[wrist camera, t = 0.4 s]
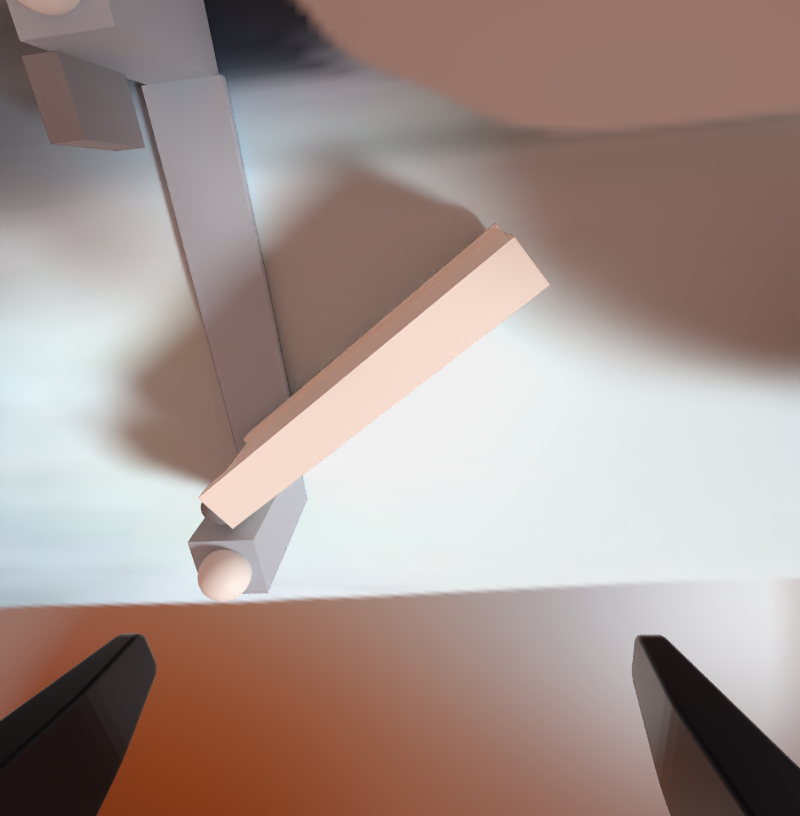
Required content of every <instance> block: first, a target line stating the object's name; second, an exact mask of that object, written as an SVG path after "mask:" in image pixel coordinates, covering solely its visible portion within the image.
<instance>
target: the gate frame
mask: <svg viewBox="0 0 800 816" xmlns="http://www.w3.org/2000/svg"><path fill="white" fill-rule="evenodd" d="M6 1H7V4H8V7H9V10H10V13H11V16H12V19H13V22H14V25H15V28H16V31H17V34H18V37H19V40H20V41H21V42H24V43H27V44H30V45H33V46H36V47H38V48H41V49H44V50H47V51H50V52H43V53H37V54H30V55H24V56H21V57H22V60H23V63H24V66H25V69H26V72H27V75H28V78H29V81H30V84H31V87H32V90H33V92H34V95H35V98H36V101H37V104H38V107H39V110H40V113H41V116H42V119H43V122H44V125H45V128H46V131H47V134H48V137H49V140H50V143H51V144H56V145H65V146H74V147H84V148H93V149H102V150H111V151H120V150H128V149H136V148H144V147H145V146H144V142H143V138H142V135H141V131H140V127H139V123H138V120H137V116H136V112H135V109H134V105H133V101H132V98H131V94H130V90H129V87H128V83H127V79H126V78H128V79H131V80H134V81H137V82H140V83H143V84H146V85H143V86H141V87H142V90H143V94H144V98H145V102H146V106H147V109H148V113H149V117H150V121H151V125H152V128H153V132H154V136H155V140H156V144H157V148H158V151H159V155H160V159H161V163H162V167H163V170H164V174H165V178H166V182H167V186H168V189H169V193H170V197H171V201H172V205H173V209H174V212H175V216H176V220H177V224H178V228H179V231H180V235H181V239H182V243H183V247H184V250H185V254H186V258H187V262H188V266H189V270H190V273H191V277H192V281H193V285H194V289H195V292H196V296H197V300H198V304H199V308H200V311H201V315H202V319H203V323H204V327H205V330H206V334H207V338H208V342H209V346H210V350H211V353H212V357H213V361H214V365H215V369H216V372H217V376H218V380H219V384H220V388H221V391H222V395H223V399H224V403H225V407H226V411H227V414H228V418H229V422H230V426H231V430H232V433H233V437H234V441H235V445H236V449H237V452H238V454H239V452H240V451H241V450H242V448H243V447H244V445H245V444H246V442H245V441H244V440H243V439H244V438H245V437H246V435H247V434H248V433H249V432H250V431H251V430H252V429H253V428H255V427H256V426H257V425H258V424H259V423H260V422H262V421H263V420H264V419H265V418H266V417H267V416H269V415H270V414H271V413H272V412H273V411H275V410H276V409H277V408H278V407H279V406H280V405H282V404H283V403H284V402H285V401H286V400H287V399H289V398H290V392H289V387H288V382H287V377H286V372H285V367H284V362H283V357H282V352H281V348H280V343H279V338H278V333H277V328H276V323H275V318H274V313H273V308H272V303H271V299H270V294H269V289H268V284H267V279H266V274H265V269H264V264H263V259H262V254H261V250H260V245H259V240H258V235H257V230H256V225H255V220H254V215H253V210H252V206H251V201H250V196H249V191H248V186H247V181H246V176H245V171H244V166H243V161H242V157H241V152H240V147H239V142H238V137H237V132H236V127H235V122H234V117H233V112H232V108H231V103H230V98H229V93H228V88H227V83H226V78H225V77H224V76H223V75H221V74H220V75H219V72H218V68H217V63H216V58H215V53H214V48H213V44H212V39H211V34H210V29H209V24H208V20H207V15H206V10H205V5H204V0H6ZM306 501H307V495H306V490H305V486H304V481H303V476H301V477H300V478H298V479H297V480H296V481H294V482H293V483H292V484H290V485H289V486H288V487H287V488H285V489H284V490H283V491H281V492H280V493H279V494H277V495H276V496H275V497H274V498H272V499H271V500H270V501H268V502H267V503H266V504H264V505H263V506H262V507H261V508H259V509H258V510H257V511H255V512H254V513H253V514H251V515H250V516H249V517H248V518H246V519H245V520H244V521H242V522H241V523H240V524H238V525H237V526H236V527H235V528H233V529H232V528H231V527H230V526H229V525H228V524H223V525H219V524H215V523H212V522H210V521H209V520H207V519H206V518H204V520H203V521H202V523H201V524H200V525H199V527H198V528H197V530H196V531H195V533H194V534H193V535H192V537H191V538H190V540H189V541H188V545H189V548H190V551H191V554H192V557H193V560H194V563H195V566H196V569H197V572H198V584H199V587H200V589H201V591H202V592H203V593H204V594H205V595H206V596H207V597H208V598H210V599H212V600H215V601H221V602H223V601H229V600H232V599H235V598H236V597H238V596H240V595H241V594H250V593H268V591H269V589H270V587H271V584H272V582H273V579H274V577H275V575H276V572H277V570H278V568H279V565H280V563H281V560H282V558H283V556H284V553H285V551H286V549H287V546H288V544H289V541H290V539H291V537H292V534H293V532H294V529H295V527H296V525H297V522H298V520H299V518H300V515H301V513H302V510H303V508H304V506H305V503H306Z"/></svg>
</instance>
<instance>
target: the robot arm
mask: <svg viewBox="0 0 800 816" xmlns="http://www.w3.org/2000/svg"><path fill="white" fill-rule="evenodd" d="M155 674H156V662H155V659H154V657H153V654H152V652H151V650H150V647H149V645H148V643H147V641H146V639H145V637H144V636H143V635H142V634H121V635H119V636H117V637H115V638H114V639H112V640H111V641H110V642H108V643H107V644H106V645H104V646H103V647H102V648H100V649H99V650H97V651H96V652H94V653H93V654H92V655H90V656H89V657H88V658H86V659H85V660H83V661H82V662H81V663H79V664H78V665H77V666H75V667H74V668H72V669H71V670H70V671H68V672H67V673H66V674H64V675H63V676H61V677H60V678H59V679H57V680H56V681H55V682H53V683H52V684H50V685H49V686H48V687H46V688H45V689H44V690H42V691H41V692H39V693H38V694H36V695H35V696H34V697H32V698H31V699H30V700H28V701H27V702H25V703H24V704H23V705H21V706H20V707H18V708H17V709H16V710H14V711H13V712H12V713H10V714H9V715H7V716H6V717H5V718H3V719H2V720H1V721H0V816H97V814H98V812H99V810H100V808H101V806H102V804H103V802H104V799H105V798H106V795H107V793H108V791H109V789H110V787H111V785H112V783H113V781H114V779H115V777H116V774H117V772H118V770H119V768H120V765H121V763H122V761H123V758H124V756H125V753H126V751H127V749H128V746H129V743H130V741H131V738H132V736H133V733H134V731H135V728H136V725H137V723H138V720H139V717H140V715H141V712H142V709H143V707H144V704H145V701H146V699H147V696H148V694H149V691H150V688H151V686H152V683H153V680H154V678H155ZM632 676H633V682H634V687H635V690H636V694H637V698H638V702H639V706H640V710H641V714H642V717H643V722H644V726H645V730H646V734H647V737H648V741H649V745H650V749H651V753H652V757H653V761H654V765H655V769H656V772H657V776H658V779H659V783H660V786H661V789H662V792H663V795H664V798H665V801H666V804H667V807H668V809H669V812H670V815H671V816H800V768H799V767H798V766H797V765H796V764H795V763H794V762H793V761H792V760H791V759H790V758H789V757H788V756H787V755H786V754H785V753H784V752H783V751H782V750H781V749H780V748H779V747H778V746H777V745H776V744H775V743H774V742H772V741H771V740H770V739H769V738H768V737H767V736H766V735H765V734H764V733H763V732H762V731H761V730H760V729H759V728H758V727H757V726H756V725H755V724H754V723H753V722H752V721H751V720H750V719H749V718H748V717H747V716H746V715H745V714H744V713H743V712H741V710H740V709H738V708H737V707H736V706H735V705H734V704H733V703H732V702H731V701H730V700H729V699H728V698H727V697H726V696H725V695H724V694H723V693H722V692H721V691H720V690H719V689H718V688H717V687H716V686H715V685H714V684H713V683H712V682H710V680H708V678H706V677H705V676H704V675H703V674H702V673H701V672H700V671H699V670H698V669H697V668H696V667H695V666H694V665H693V664H692V663H691V662H690V661H689V660H688V659H687V658H686V657H685V656H684V655H683V654H682V653H681V652H680V651H679V650H678V649H676V647H675V646H673V645H672V644H671V643H670V642H669V641H668V640H667V639H666V638H665V637H663V636H661V635H638V636H637V637H636V639H635V644H634V654H633V664H632Z"/></svg>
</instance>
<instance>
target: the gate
mask: <svg viewBox="0 0 800 816" xmlns="http://www.w3.org/2000/svg"><path fill="white" fill-rule="evenodd" d="M549 285H550V284H549V283H548V281H547V280H546V279H545V277H544V276H543V275H542V273H541V272H540V271H539V269H538V268H537V267H536V265H535V264H534V262H533V261H532V260H531V258H530V257H529V256H528V254H527V253H526V252H525V250H524V249H523V248H522V246H521V245H520V243H519V242H518V241H517V239H516V238H515V237H514V236H513V235H511V234H510V235H507V234H506V233H505V232H503V231H502V230H500V228H499V227H498V226H497V225H496V224H494V225H492V226H491V227H490V228H489V229H488V230H486V231H485V232H484V233H483V234H482V235H481V236H479V237H478V238H477V239H476V240H475V241H474V242H472V243H471V244H470V245H469V246H468V247H466V248H465V249H464V250H463V251H462V252H461V253H459V254H458V255H457V256H456V257H455V258H454V259H452V260H451V261H450V262H449V263H448V264H446V265H445V266H444V267H443V268H442V269H441V270H439V271H438V272H437V273H436V274H435V275H433V276H432V277H431V278H430V279H429V280H428V281H426V282H425V283H424V284H423V285H422V286H421V287H419V288H418V289H417V290H416V291H415V292H413V293H412V294H411V295H410V296H409V297H408V298H406V299H405V300H404V301H403V302H402V303H401V304H399V305H398V306H397V307H396V308H395V309H393V310H392V311H391V312H390V313H389V314H388V315H386V316H385V317H384V318H383V319H382V320H381V321H379V322H378V323H377V324H376V325H375V326H373V327H372V328H371V329H370V330H369V331H368V332H366V333H365V334H364V335H363V336H362V337H360V338H359V339H358V340H357V341H356V342H355V343H353V344H352V345H351V346H350V347H349V348H348V349H346V350H345V351H344V352H343V353H342V354H340V355H339V356H338V357H337V358H336V359H335V360H333V361H332V362H331V363H330V364H329V365H328V366H326V367H325V368H324V369H323V370H322V371H320V372H319V373H318V374H317V375H316V376H315V377H313V378H312V379H311V380H310V381H309V382H308V383H306V384H305V385H304V386H303V387H302V388H300V389H299V390H298V391H297V392H296V393H295V394H293V395H292V396H291V397H290V398H289V399H287V400H286V401H285V402H284V403H283V404H282V405H280V406H279V407H278V408H277V409H276V410H275V411H273V412H272V413H271V414H270V415H269V416H267V417H266V418H265V419H264V420H263V421H262V422H260V423H259V424H258V425H257V426H256V427H255V428H253V429H252V430H251V431H250V432H249V433H248V434H247V435H246V437H245V438H244V439H243V440H244V441H245V442H246V444H245V445H244V447H243V448H242V450H241V451H240V452H239V454H238V455H237V456H236V458H235V459H234V460H233V462H232V463H231V464H230V466H229V467H228V468H227V470H226V471H225V472H223V473H222V474H221V475H220V476H219V477H217V478H216V479H215V480H214V481H213V482H211V483H210V484H209V485H208V486H207V487H206V488H205V490H204V491H203V492H202V494H201V495H200V496H199V498H198V499H199V500H200V501H201V502H202V504H201V511H202V514H203V515H204V517H205V518H206V519H207V520H209V521H210V522H212V523H215V524H219V525H223V524H228V525H229V526H230V527H231V528H232V529H233V528H235V527H236V526H237V525H238V524H240V523H241V522H242V521H244V520H245V519H246V518H248V517H249V516H250V515H251V514H253V513H254V512H255V511H257V510H258V509H259V508H261V507H262V506H263V505H264V504H266V503H267V502H268V501H270V500H271V499H272V498H274V497H275V496H276V495H277V494H279V493H280V492H281V491H283V490H284V489H285V488H287V487H288V486H289V485H290V484H292V483H293V482H294V481H296V480H297V479H298V478H300V477H301V476H302V475H303V474H305V473H306V472H307V471H309V470H310V469H311V468H313V467H314V466H315V465H316V464H318V463H319V462H320V461H322V460H323V459H324V458H326V457H327V456H328V455H329V454H331V453H332V452H333V451H335V450H336V449H337V448H339V447H340V446H341V445H342V444H344V443H345V442H346V441H348V440H349V439H350V438H352V437H353V436H354V435H355V434H357V433H358V432H359V431H361V430H362V429H363V428H365V427H366V426H367V425H368V424H370V423H371V422H372V421H374V420H375V419H376V418H378V417H379V416H380V415H381V414H383V413H384V412H385V411H387V410H388V409H389V408H391V407H392V406H393V405H395V404H396V403H397V402H398V401H400V400H401V399H402V398H404V397H405V396H406V395H408V394H409V393H410V392H411V391H413V390H414V389H415V388H417V387H418V386H419V385H421V384H422V383H423V382H424V381H426V380H427V379H428V378H430V377H431V376H432V375H434V374H435V373H436V372H437V371H439V370H440V369H441V368H443V367H444V366H445V365H447V364H448V363H449V362H450V361H452V360H453V359H454V358H456V357H457V356H458V355H460V354H461V353H462V352H463V351H465V350H466V349H467V348H469V347H470V346H471V345H473V344H474V343H475V342H476V341H478V340H479V339H480V338H482V337H483V336H484V335H486V334H487V333H488V332H489V331H491V330H492V329H493V328H495V327H496V326H497V325H499V324H500V323H501V322H502V321H504V320H505V319H506V318H508V317H509V316H510V315H512V314H513V313H514V312H515V311H517V310H518V309H519V308H521V307H522V306H523V305H525V304H526V303H527V302H528V301H530V300H531V299H532V298H534V297H535V296H536V295H538V294H539V293H540V292H541V291H543V290H544V289H545V288H547V287H548V286H549Z"/></svg>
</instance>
